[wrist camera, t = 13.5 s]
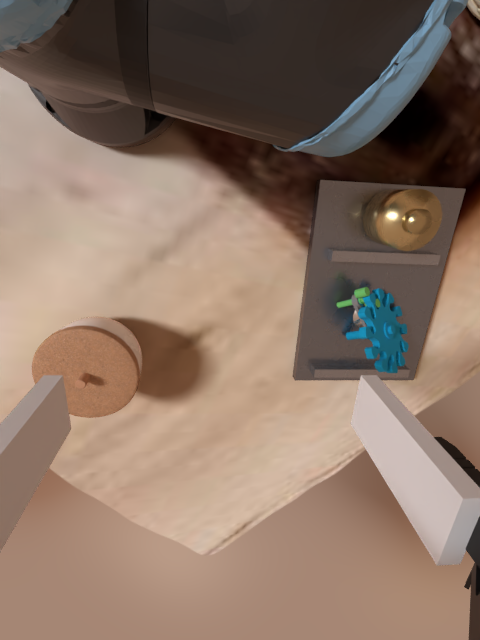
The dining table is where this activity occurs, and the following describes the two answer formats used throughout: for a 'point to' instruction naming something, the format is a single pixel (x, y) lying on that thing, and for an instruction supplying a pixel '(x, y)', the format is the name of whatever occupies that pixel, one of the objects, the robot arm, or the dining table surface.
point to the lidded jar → (92, 365)
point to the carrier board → (371, 270)
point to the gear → (379, 328)
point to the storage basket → (474, 7)
